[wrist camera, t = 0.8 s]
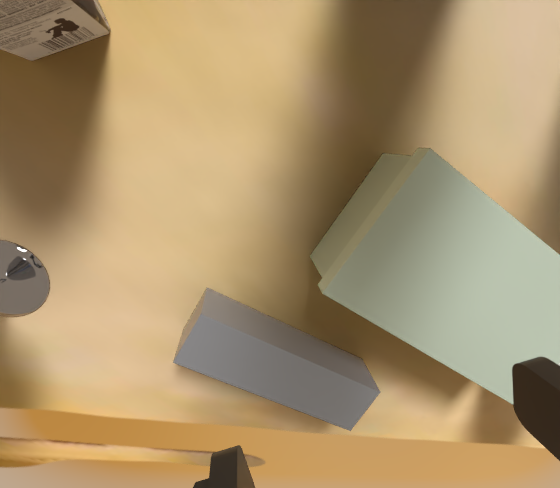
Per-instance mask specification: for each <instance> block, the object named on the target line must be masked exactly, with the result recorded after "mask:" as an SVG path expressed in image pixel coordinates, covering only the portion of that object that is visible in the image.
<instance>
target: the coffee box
mask: <svg viewBox="0 0 560 488" xmlns="http://www.w3.org/2000/svg"><path fill="white" fill-rule="evenodd" d="M109 33H110V27H109V24H108V22H107V19H106V17H105V15H104V13H103V11H102V8H101V6H100V4H99V2H98V0H0V49H1V50H4V51H6V52H9V53H12V54H14V55H17V56H20V57H22V58H25V59H28V60H31V61H33V60H36V59H39V58H42V57H45V56H48V55H51V54H53V53H56V52H59V51H62V50H65V49H67V48H70V47H73V46H76V45H79V44H81V43H84V42H87V41H90V40H93V39H95V38H98V37H101V36H104V35H107V34H109Z"/></svg>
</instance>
